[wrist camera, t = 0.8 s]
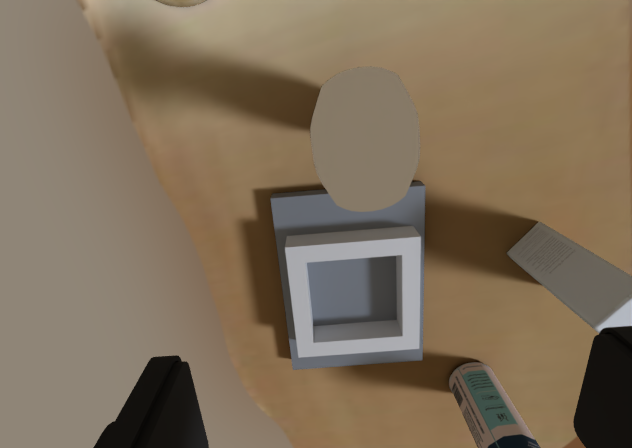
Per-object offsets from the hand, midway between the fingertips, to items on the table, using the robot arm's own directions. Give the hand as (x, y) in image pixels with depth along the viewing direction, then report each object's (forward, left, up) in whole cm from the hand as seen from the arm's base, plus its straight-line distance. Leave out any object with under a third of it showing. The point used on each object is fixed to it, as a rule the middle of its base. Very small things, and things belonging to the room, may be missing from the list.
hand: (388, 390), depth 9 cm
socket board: (+11, +1, -25) cm, 27 cm away
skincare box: (+10, +19, -25) cm, 33 cm away
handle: (-4, +1, -25) cm, 26 cm away
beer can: (+24, +13, -25) cm, 37 cm away
